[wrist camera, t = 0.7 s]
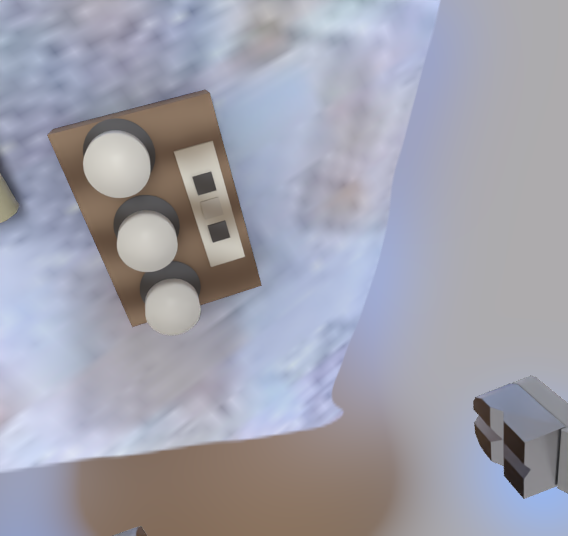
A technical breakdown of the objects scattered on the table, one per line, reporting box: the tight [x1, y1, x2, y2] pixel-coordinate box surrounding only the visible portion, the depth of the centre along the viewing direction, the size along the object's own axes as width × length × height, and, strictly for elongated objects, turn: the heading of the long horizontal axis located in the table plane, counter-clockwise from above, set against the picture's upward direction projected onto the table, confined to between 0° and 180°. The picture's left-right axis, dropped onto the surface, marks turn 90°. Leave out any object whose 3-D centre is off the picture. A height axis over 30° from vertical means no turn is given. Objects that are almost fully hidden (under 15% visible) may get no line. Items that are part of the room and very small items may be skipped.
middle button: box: [117, 210, 178, 272], centre depth 42 cm, size 5×5×2 cm
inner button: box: [83, 130, 150, 198], centre depth 38 cm, size 5×5×2 cm
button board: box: [47, 90, 262, 327], centre depth 47 cm, size 20×14×4 cm
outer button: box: [145, 279, 201, 335], centre depth 45 cm, size 5×5×2 cm
